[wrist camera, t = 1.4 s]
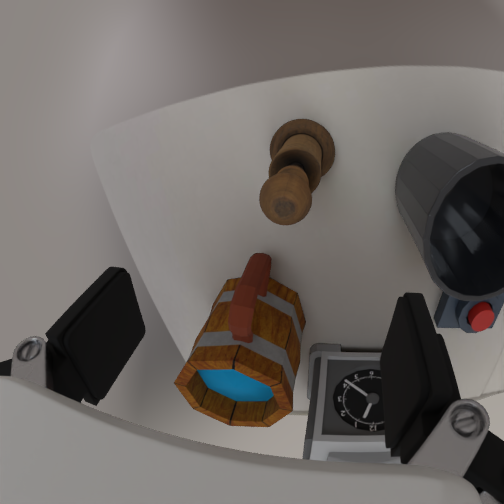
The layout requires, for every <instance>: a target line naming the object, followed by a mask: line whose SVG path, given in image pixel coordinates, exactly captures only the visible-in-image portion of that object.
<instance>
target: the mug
mask: <svg viewBox="0 0 504 504" xmlns="http://www.w3.org/2000/svg"><path fill="white" fill-rule="evenodd" d="M270 269H271V257H270V256H269V255H267V254H264V253H256V254H254V255H252V256H251V257H250V259H249V262H248V264H247V266H246V268H245V270H244V273H243V275H242V277H241V278H236V279H229V280H227V281H226V283H225V285H224V286H223V288H222V290H221V292H220V293H219V295H218V297H217V298H216V300H215V302H214V303H213V306H212V310H211V313H210V316H209V318H208V320H207V321H206V323H205V325H204V326H203V328H202V330H201V331H200V333H199V335H198V336H197V338H196V340H195V343H194V346H193V349H192V351H191V354H190V356H189V358H188V360H187V362H186V364H185V366H184V367H183V369H182V371H181V372H180V374H179V375H178V377H177V379H176V380H175V382H174V384H175V385H176V386H177V388H178V389H179V391H180V392H181V393H182V395H183V396H184V397H185V399H186V400H187V401H188V403H189V404H190V405H191V407H192V408H193V409H195V410H197V411H199V412H201V413H203V414H205V415H207V416H210V417H212V418H214V419H216V420H218V421H221V422H223V423H225V424H227V425H230V426H251V427H270V426H271V425H273V424H274V423H276V422H277V421H279V420H280V419H282V418H283V417H285V416H286V415H287V414H289V413H290V412H292V411H293V390H294V384H295V378H296V374H297V371H298V367H299V364H300V345H301V338H302V332H303V329H304V326H305V323H306V321H305V318H304V314H303V310H302V307H301V303H300V300H299V296H298V293H297V292H295V291H293V290H291V289H289V288H288V287H286V286H284V285H282V284H280V283H279V282H277V281H275V280H273V279H271V278H270V277H269V276H270Z"/></svg>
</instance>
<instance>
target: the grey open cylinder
mask: <svg viewBox="0 0 504 504" xmlns="http://www.w3.org/2000/svg"><path fill="white" fill-rule="evenodd" d="M395 194H396V201H397V206H398V209H399V212H400V214H401V216H402V218H403V220H404V222H405V224H406V226H407V228H408V230H409V232H410V234H411V236H412V238H413V240H414V242H415V244H416V246H417V248H418V250H419V252H420V254H421V256H422V258H423V261H424V263H425V265H426V267H427V269H428V272H429V274H430V276H431V278H432V280H433V282H434V283H435V284H436V285H437V286H438V287H439V288H440V289H441V290H442V291H443V292H444V293H446V294H447V295H450V296H452V297H455V298H457V299H459V300H463V301H482V300H485V299H489V298H492V297H496V296H498V295H500V294H502V293H503V292H504V153H502V152H500V151H498V150H496V149H493V148H491V147H489V146H487V145H485V144H483V143H480V142H478V141H476V140H474V139H471V138H469V137H467V136H463V135H459V134H456V133H449V132H447V133H437V134H433V135H431V136H428V137H426V138H424V139H422V140H421V141H419V142H418V143H417V144H416V145H415V146H413V147H412V148H411V149H410V151H409V152H408V153H407V154H406V156H405V158H404V159H403V161H402V163H401V165H400V168H399V171H398V174H397V178H396V186H395Z"/></svg>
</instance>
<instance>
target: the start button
mask: <svg viewBox="0 0 504 504" xmlns="http://www.w3.org/2000/svg"><path fill="white" fill-rule="evenodd" d="M468 320H469V322H470V325H471V327H472V329H473V330H474V331H483V330H485V329H487V328H488V327H489V326H490V325H491V324H492V322H493V320H494V313H493V311H492V309H491V307H490V305H489V304H488V303H486V302H480V303H478V304H476V305H474V306H473V307H472V308H471V309H470V311H469V313H468Z"/></svg>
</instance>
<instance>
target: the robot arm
mask: <svg viewBox="0 0 504 504" xmlns="http://www.w3.org/2000/svg"><path fill="white" fill-rule="evenodd" d="M144 334H145V325H144V322H143V319H142V315H141V312H140V309H139V305H138V302H137V299H136V295H135V291H134V288H133V284H132V281H131V277H130V274H129V273H127V271H126V270H125V269H124V268H119V267H109V268H108V269H107V270H106V271H105V272H104V273H103V274H102V275H101V276H100V277H99V278H98V279H97V280H96V281H95V282H94V283H93V284H92V285H91V286H90V287H89V288H88V289H87V290H86V291H85V292H84V293H83V294H82V295H81V296H80V297H79V298H78V299H77V300H76V301H75V302H74V303H73V304H72V305H71V306H70V307H69V309H68V310H67V311H66V312H65V313H64V314H63V315H62V316H61V317H60V318H59V319H58V320H57V321H56V322H55V324H54V325H53V326H52V327H51V328H50V329H49V330H48V331H47V332H46V336H47V338H48V341H47V342H45V341H44V339H43V338H41V337H37V336H33V337H29V338H26V339H24V340H23V341H21V342H20V343H19V344H18V345H17V346H16V348H15V350H14V353H13V358H12V359H9V360H7V361H3V362H0V504H504V441H503V440H501V439H500V438H499V437H497V436H496V435H494V434H493V433H491V432H490V431H489V430H488V429H489V426H490V421H489V416H488V413H487V411H486V410H485V408H484V407H483V406H482V405H480V404H479V403H478V402H476V401H474V400H472V399H461V397H460V394H459V390H458V386H457V382H456V379H455V375H454V371H453V368H452V365H451V361H450V358H449V355H448V351H447V348H446V345H445V342H444V339H443V337H442V335H441V334H436V331H435V328H434V325H433V322H432V319H431V316H430V313H429V310H428V307H427V305H426V302H425V299H424V296H423V294H421V293H405V294H404V296H403V297H399V298H398V300H397V304H396V307H395V311H394V314H393V318H392V321H391V325H390V328H389V331H388V334H387V338H386V341H385V344H384V347H383V350H382V353H381V357H380V371H381V382H382V394H383V408H384V426H385V446H386V448H390V451H391V457H400V462H401V463H402V464H388V463H354V462H333V461H319V460H307V459H297V458H286V457H279V456H271V455H264V454H258V453H251V452H245V451H239V450H235V449H229V448H224V447H219V446H215V445H210V444H206V443H201V442H197V441H193V440H189V439H185V438H181V437H178V436H174V435H170V434H167V433H163V432H160V431H156V430H153V429H150V428H147V427H144V426H141V425H137V424H134V423H132V422H129V421H126V420H123V419H120V418H117V417H114V416H112V415H109V414H106V413H104V412H101V411H99V410H96V409H94V408H91V407H89V406H86V405H84V404H82V403H81V401H82V399H83V398H84V400H85V401H86V402H88V403H91V404H93V405H96V406H97V404H98V403H99V401H100V399H103V398H104V397H105V396H106V394H107V393H108V391H109V390H110V388H111V386H112V385H113V383H114V382H115V380H116V379H117V377H118V375H119V374H120V372H121V371H122V369H123V368H124V366H125V364H126V363H127V361H128V360H129V358H130V357H131V355H132V354H133V352H134V350H135V349H136V347H137V346H138V344H139V343H140V341H141V340H142V338H143V337H144Z"/></svg>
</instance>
